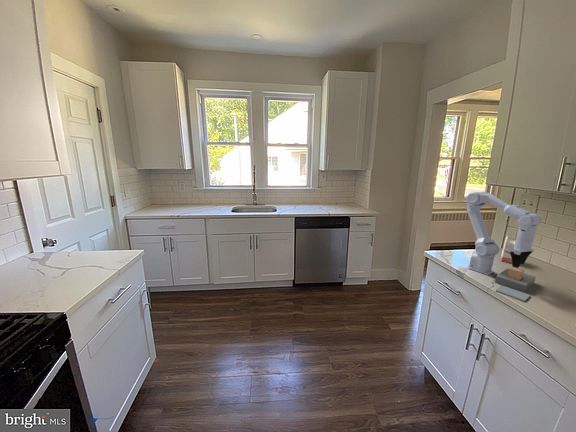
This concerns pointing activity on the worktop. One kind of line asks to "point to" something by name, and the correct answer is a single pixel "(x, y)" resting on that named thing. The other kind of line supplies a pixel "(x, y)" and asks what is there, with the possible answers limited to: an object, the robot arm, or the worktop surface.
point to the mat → (513, 293)
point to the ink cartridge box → (507, 250)
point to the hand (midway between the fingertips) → (517, 265)
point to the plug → (515, 273)
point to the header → (515, 281)
